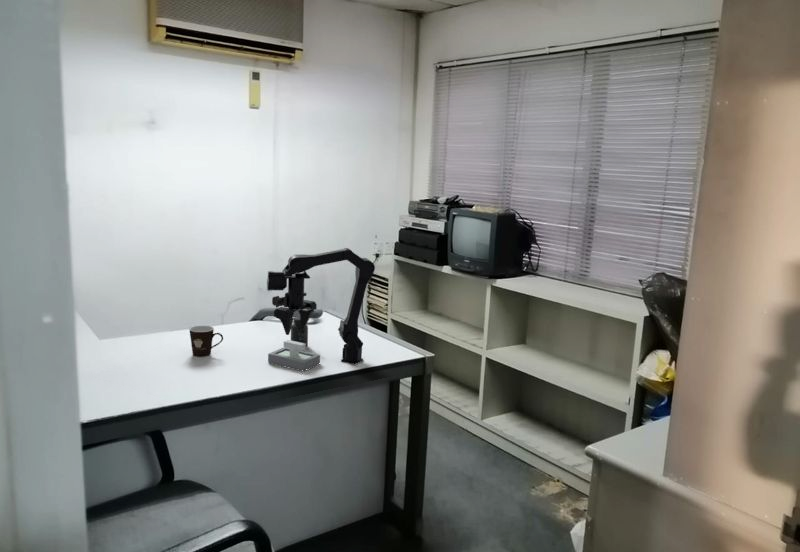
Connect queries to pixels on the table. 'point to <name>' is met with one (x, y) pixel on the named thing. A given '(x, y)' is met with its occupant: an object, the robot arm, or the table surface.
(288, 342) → the cover
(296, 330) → the supplement bottle
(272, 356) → the case
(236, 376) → the table surface
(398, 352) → the table surface
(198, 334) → the coffee mug
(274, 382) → the table surface
